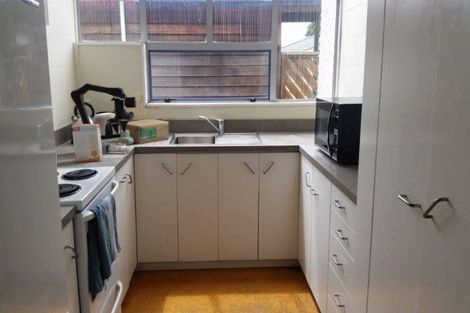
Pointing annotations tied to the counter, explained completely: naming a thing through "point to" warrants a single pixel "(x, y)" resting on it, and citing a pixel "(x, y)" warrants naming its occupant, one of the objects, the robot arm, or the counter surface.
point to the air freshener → (125, 138)
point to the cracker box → (87, 142)
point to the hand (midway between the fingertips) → (121, 132)
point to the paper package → (148, 130)
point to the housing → (105, 148)
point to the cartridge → (119, 149)
